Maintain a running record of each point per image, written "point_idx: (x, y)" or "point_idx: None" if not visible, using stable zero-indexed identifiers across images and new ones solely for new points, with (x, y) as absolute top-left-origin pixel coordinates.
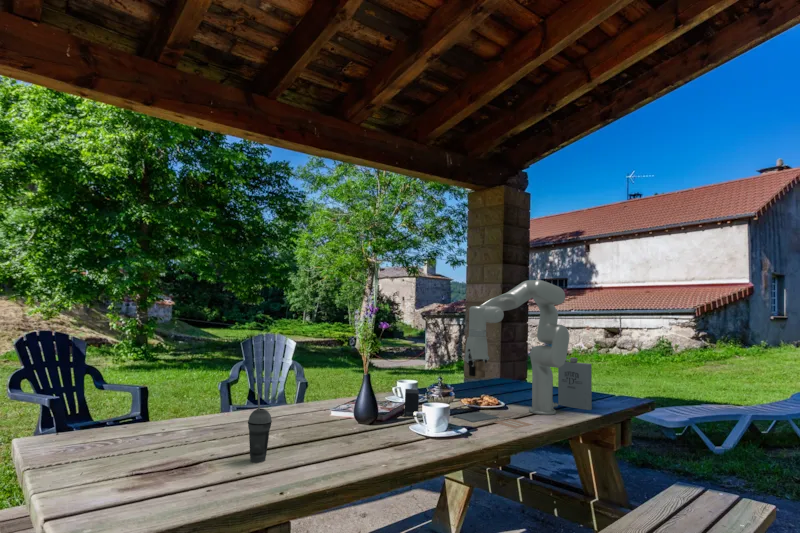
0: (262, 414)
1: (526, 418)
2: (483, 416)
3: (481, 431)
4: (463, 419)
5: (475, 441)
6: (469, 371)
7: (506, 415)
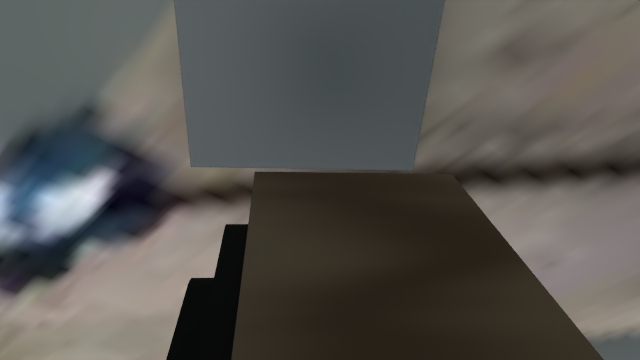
0: None
1: (563, 203)
2: (346, 117)
3: (147, 261)
4: (184, 87)
5: (16, 341)
6: (183, 303)
7: (561, 102)
